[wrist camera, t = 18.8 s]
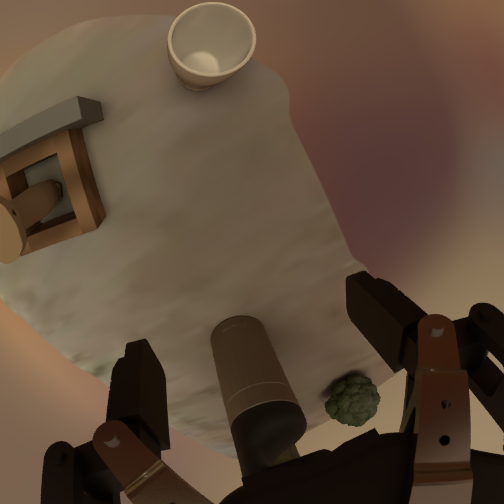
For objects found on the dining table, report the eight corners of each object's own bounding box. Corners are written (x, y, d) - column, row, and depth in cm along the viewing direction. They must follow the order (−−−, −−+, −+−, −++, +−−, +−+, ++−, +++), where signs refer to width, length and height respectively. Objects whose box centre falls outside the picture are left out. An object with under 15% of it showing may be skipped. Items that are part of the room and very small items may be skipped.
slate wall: (103, 119, 30) (81, 118, 22) (0, 167, 28) (-36, 181, 20) (100, 101, 29) (77, 95, 21) (-4, 151, 26) (-41, 161, 19)
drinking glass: (232, 88, 32) (267, 67, 19) (178, 103, 32) (178, 88, 18) (218, 41, 29) (245, -6, 16) (164, 55, 28) (157, 12, 15)
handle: (55, 220, 33) (4, 272, 20) (29, 183, 30) (-33, 219, 17) (78, 199, 33) (30, 243, 20) (53, 160, 30) (-9, 186, 17)
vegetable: (307, 420, 62) (330, 409, 50) (327, 377, 70) (351, 357, 58) (350, 437, 59) (380, 429, 48) (366, 394, 67) (396, 377, 56)
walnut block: (106, 216, 35) (97, 229, 30) (35, 241, 33) (21, 256, 29) (81, 128, 30) (67, 129, 25) (9, 162, 28) (-10, 168, 23)
